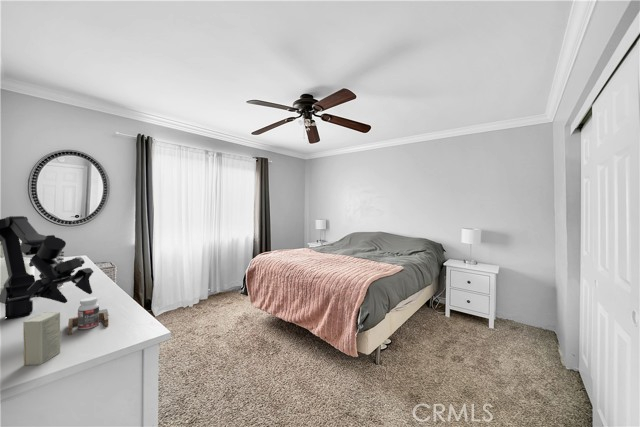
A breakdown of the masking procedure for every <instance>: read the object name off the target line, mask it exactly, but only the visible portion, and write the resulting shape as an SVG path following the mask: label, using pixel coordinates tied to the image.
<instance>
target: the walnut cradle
mask: <svg viewBox="0 0 640 427" xmlns="http://www.w3.org/2000/svg"><path fill="white" fill-rule="evenodd" d="M107 311H108V310H107ZM107 311H105V312H100V313H99V321H100V320H103V324H104V327H105V328H106V327H109V316H108V315H107ZM73 326H78V316H76V317H71V318H68V325H67V335H68V336H71V335H73Z"/></svg>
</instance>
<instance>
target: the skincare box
mask: <svg viewBox="0 0 640 427" xmlns="http://www.w3.org/2000/svg"><path fill="white" fill-rule="evenodd" d="M60 353H61V312H58V311H57V312H54V311H53V312H43V313H40V314H38V315H36V316H34V317H30V318H29V319H26V320H24V321H23V366H27V365H28V366H30V365H31V366H33V365H34V366H35V365H36V366H37V365H42V364H44V363H45V362H47V361H48V360H50V359H51V358H53V357H56V355H58V354H60Z"/></svg>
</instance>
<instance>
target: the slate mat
mask: <svg viewBox="0 0 640 427" xmlns="http://www.w3.org/2000/svg"><path fill="white" fill-rule="evenodd" d="M105 311H107V315H108V317H109V311H108V308H105V309H99V313H100V312H105Z"/></svg>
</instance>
